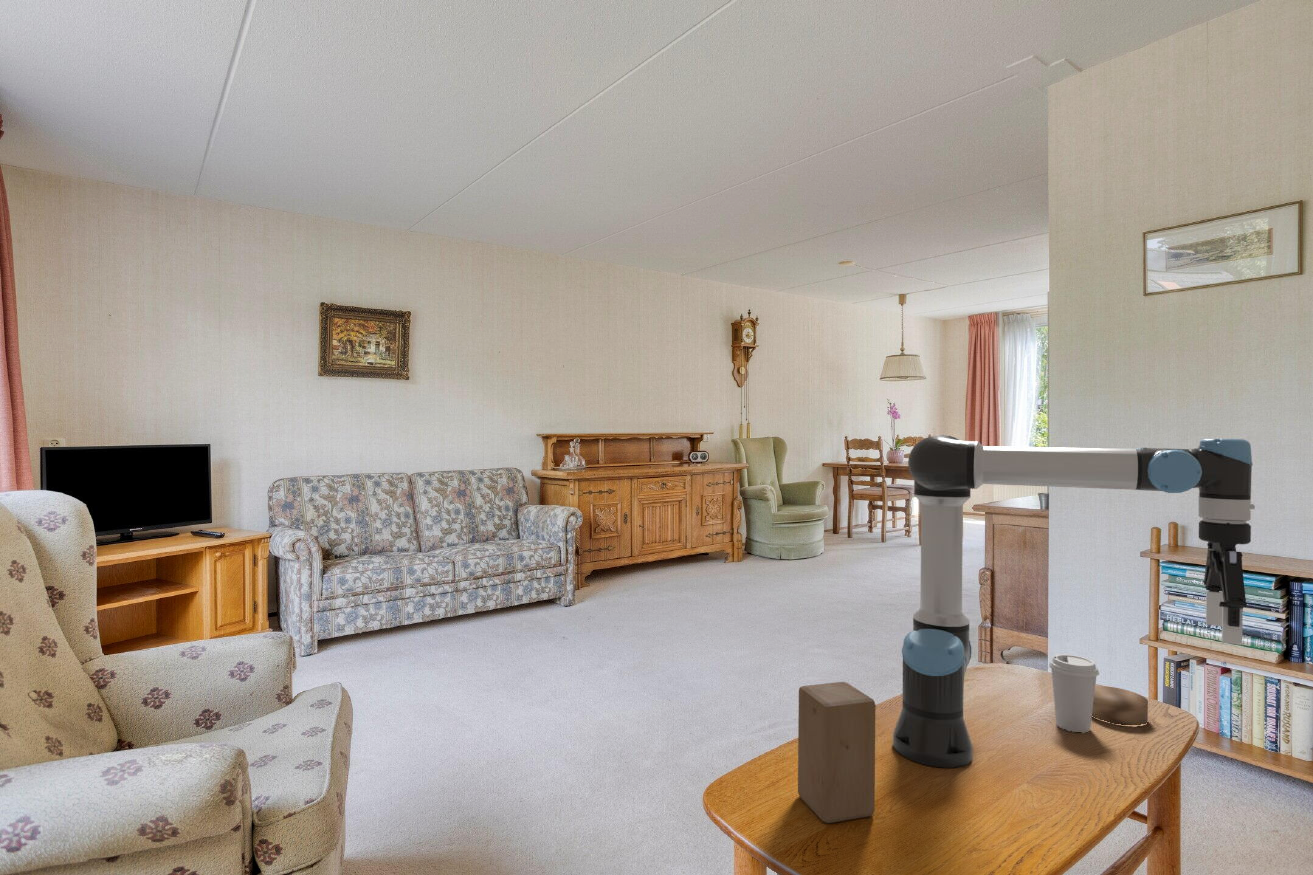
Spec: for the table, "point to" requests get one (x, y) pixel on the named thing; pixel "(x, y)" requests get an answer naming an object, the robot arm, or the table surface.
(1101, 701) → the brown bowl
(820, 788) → the wooden block
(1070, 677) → the coffee cup
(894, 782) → the table surface
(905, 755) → the robot arm
